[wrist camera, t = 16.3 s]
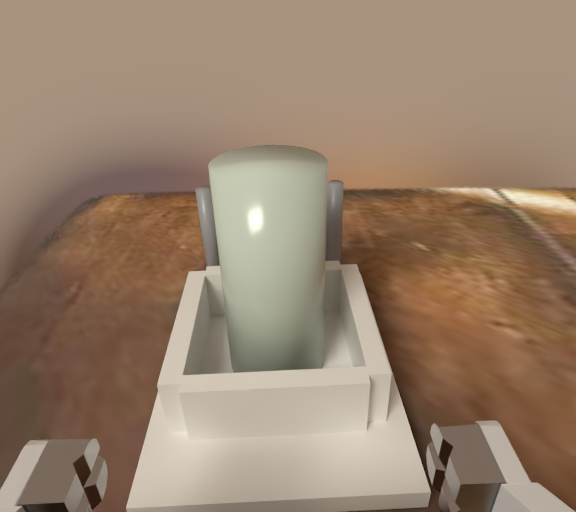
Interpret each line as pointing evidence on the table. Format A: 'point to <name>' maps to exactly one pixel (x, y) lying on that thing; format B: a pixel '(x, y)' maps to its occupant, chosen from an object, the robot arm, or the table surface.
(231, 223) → the pale green canister
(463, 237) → the table surface
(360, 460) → the dish rack
